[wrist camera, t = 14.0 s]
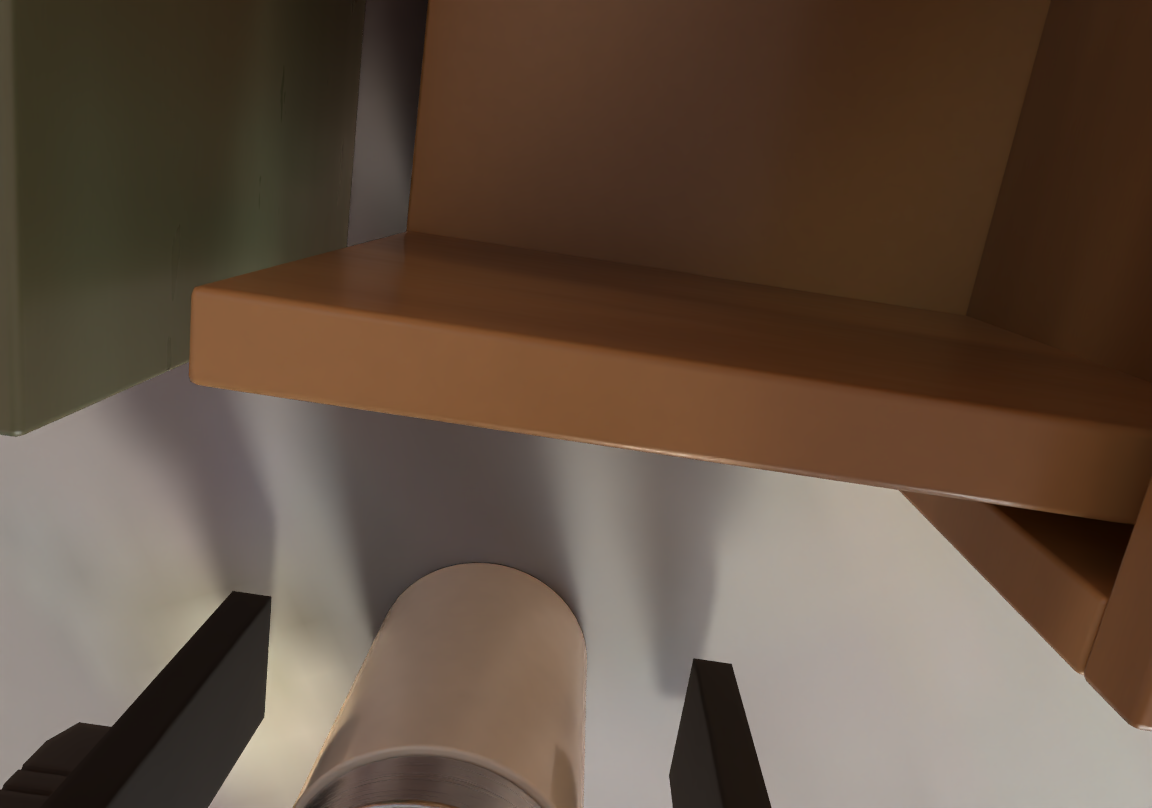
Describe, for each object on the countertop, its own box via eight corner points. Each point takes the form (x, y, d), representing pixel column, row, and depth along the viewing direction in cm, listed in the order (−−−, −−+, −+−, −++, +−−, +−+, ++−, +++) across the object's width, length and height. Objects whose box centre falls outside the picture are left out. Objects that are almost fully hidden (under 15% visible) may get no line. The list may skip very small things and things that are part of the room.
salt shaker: (407, 761, 18) (302, 1083, 12) (354, 582, 17) (206, 826, 11) (605, 729, 18) (608, 1043, 12) (563, 544, 17) (541, 773, 10)
